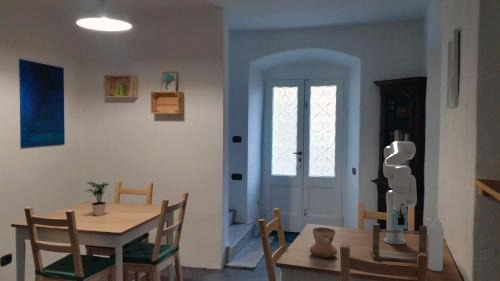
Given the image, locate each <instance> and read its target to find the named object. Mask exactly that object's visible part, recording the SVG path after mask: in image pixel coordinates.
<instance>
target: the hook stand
mask: <svg viewBox="0 0 500 281" xmlns="http://www.w3.org/2000/svg"><path fill="white" fill-rule="evenodd" d="M380 225H381V224H380V223H377V222H375V223H372V245H371V246H372V249H369V253H370V255H371V258H372V260H374V261H375V260H376V261H387V260H396V261H395V262H404V261H407V262H406V263H418V262H417V255H418V254H419V253H421V252H422V253H426V254H427V248H428V247H427V246H428V244H427V243H428V241H427V240H428V239H427V238H428V236H427V235H428V227H427V226H426V225H419V230H405V229H403V230H387V229H382V228H381V229H380ZM386 232H387V233H403V234H409V235H411V234H412V235H418V237H419V239H418V240H419V241H418V252H413V251H394V250H393V251H392V250H380V233H386ZM415 261H416V262H415Z"/></svg>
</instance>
